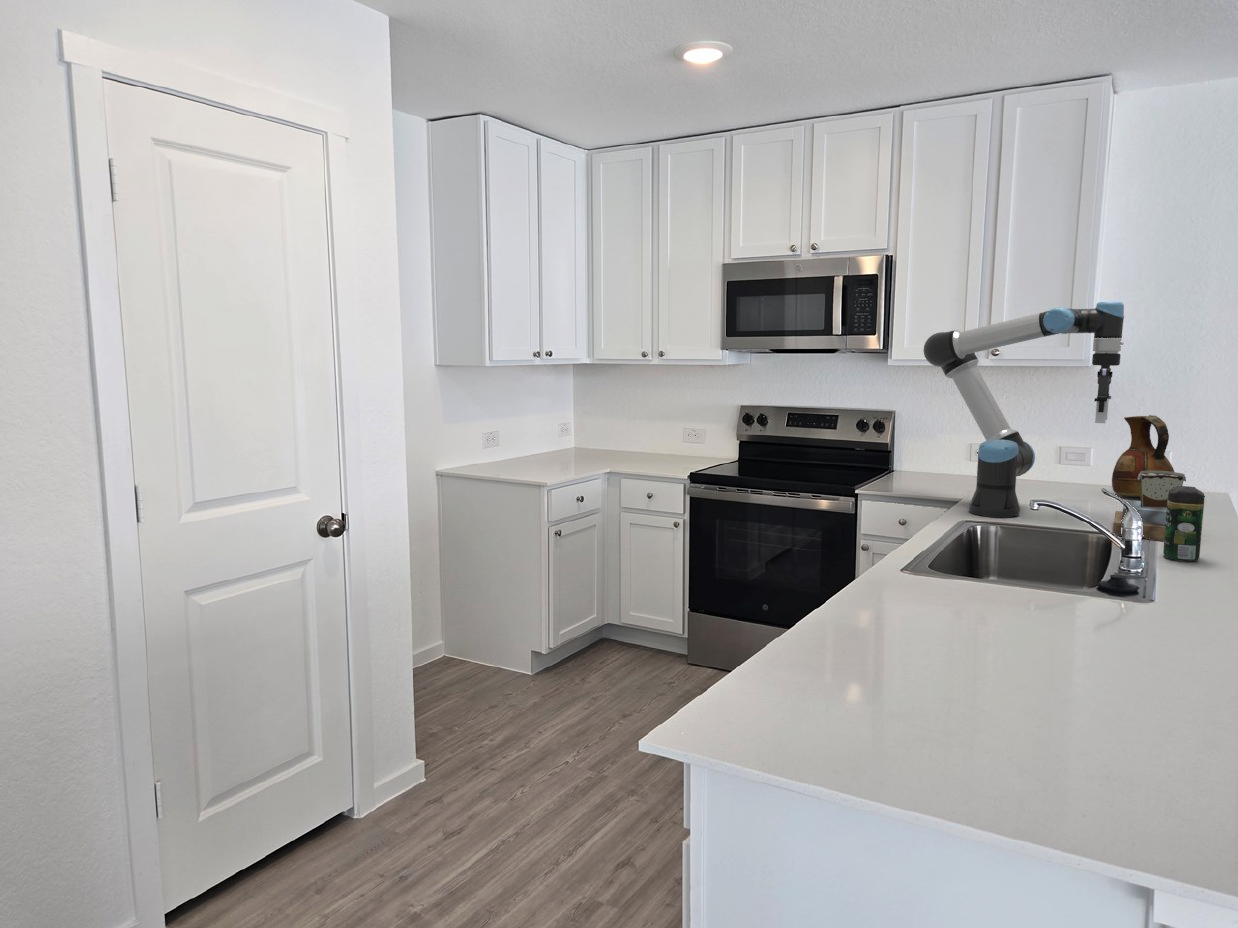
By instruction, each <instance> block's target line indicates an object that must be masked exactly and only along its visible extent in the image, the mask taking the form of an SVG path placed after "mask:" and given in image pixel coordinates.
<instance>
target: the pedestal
mask: <svg viewBox="0 0 1238 928" xmlns="http://www.w3.org/2000/svg"><path fill="white" fill-rule="evenodd" d="M1124 501H1125V502H1128V503H1129V504H1130V505H1131V506H1132V507H1134V508H1135V509H1136V510H1137V512H1138V513H1139V514H1140V516H1141V518H1142V522H1143V535H1144V538H1150V539H1155V540H1154V541H1157V540H1158V541H1159V542H1164V536H1165V521H1166V510H1167V508H1145V507H1141V500H1132V499H1124V500H1123V502H1124ZM1125 513H1126V507H1125V506H1124V504H1123V507H1122V510H1116V511H1115V513H1114V518H1113V523H1112V524H1113V526H1112V534H1113V533H1115V534H1118V535H1121V520H1122V519H1123V517H1124V515H1125Z"/></svg>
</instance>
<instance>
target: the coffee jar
mask: <svg viewBox="0 0 1238 928" xmlns="http://www.w3.org/2000/svg"><path fill="white" fill-rule="evenodd" d="M1205 498H1206V496H1205V493H1204V492H1203V491H1201V490H1200V489H1197V488H1196V487H1195V486H1189V485H1188V486H1187V485H1185V486H1184V485H1183V486H1177V487H1175V488H1172V489H1170V490H1169V494H1168V501H1167V510H1166V521H1165V536H1164V541H1163V551H1162V552H1163V556H1164V557H1165V558H1166V559H1170V560H1175V561H1177V562H1185V563H1186V562H1198V561H1199V560H1200V554H1201V545H1202V544H1201V542H1202V533H1203V532H1202V531H1203V519H1204V509H1205V508H1204V507H1205Z"/></svg>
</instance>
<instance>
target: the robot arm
mask: <svg viewBox="0 0 1238 928" xmlns="http://www.w3.org/2000/svg"><path fill="white" fill-rule="evenodd" d="M1124 313H1125V304H1124V303H1123V302H1122V301H1099V302H1097V303H1096V305H1095V307H1094V308H1069V307H1068V308H1067V307H1062V306H1059V307H1053V308H1051V309H1049V310H1046V311H1043V312H1038V313H1034V314H1030V315H1026V316H1021V317H1018V318H1013V319H1009V320H1004V321H1001V322H997V323H993V324H989V325H985V326H984V325H983V326H980V327H976V328H972V329H967V330H964V331H960V330H959V329H954V330H950V331H945V332H944V331H941V332H936V333H933V334H931V336H929V337H928V338H927V339H926V341H925V342H924V345H923V349H922V350H923V354H924V358H925V360H926V361H927V363H929V364H930V365H932V366H934V367H938V368H939V367H940V369H941V370H942V373H943V374H944V376H945V377H946V378H949V379H952V381H953V382H954V384H955V386H956V388H957V390H958V391H959V393H960V395H961V397H962V398H963V400H964V402H965V404H966V406H967V408H968V410H969V412H970V413H971V415H972V417H973V420H975V423H976V424H977V427H978V429H979V430H980V432H981V434H982V436H983V437H984V440H985V441H982V442H981V443H980V444H979V445H978V451H977V467H976V468H977V470H976V485H975V486H976V488H975V491H974V493H973V495H972V498H971V501H970V503H969V507H968V511H969V513H971V514H974V515H977V516H983V517H991V518H993V517H994V518H1014V517H1013V516H1016V517H1019V516H1020V515H1021V507H1020V504H1019V500H1018V496H1017V491H1016V486H1017V477H1021V476H1022V475H1024V474H1026V473H1027V472H1029V471H1030V470H1031V469H1032V467H1033V466H1034V464H1035V460H1036V453H1035V451H1034V449H1033V447H1032V445H1030V444H1029V443H1028V442H1026V441H1024V439H1023V438H1022V436H1021V434H1020V432H1019V431H1018V430H1016V429H1013V428H1011V426H1010V425H1009V422H1008V421H1007V419H1006V417H1005V415H1004V413H1003V411H1002V410H1001V408H1000V405H998V403H997V400H996V399H995V397H994V395H993V394H992V392H991V390H990V388H989V386H988V385H987V383H986V381H985V379H984V377H983V375H982V374H981V372H980V370H979V368H978V365H979V361H980V360H979V359H978V357H977V355H976V353H978V352H984V351H987V350H992V349H997V348H1001V347H1005V346H1010V345H1014V344H1017V343H1022V342H1027V341H1031V340H1037V339H1040V338H1045V337H1051V336H1056V335H1059V334H1062V335H1063V334H1064V335H1065V334H1066V335H1067V334H1093V335H1094V336H1093V343H1092V351H1093V352H1094V353H1092V359H1091V365H1092V366H1100V369H1099V370H1098V371H1097V376H1096V377H1097V384H1098V385H1097V387H1098V388H1097V396H1096V398H1094V402H1096V406H1095V420H1094V423H1095V424H1106V421H1108V411H1109V400H1111V399H1112V396H1111V395H1110V384H1112V378H1113V371H1111V370H1112V369H1111V367H1112V366H1113V367H1114V366H1115V367H1116V366H1119V365H1120V364H1121V353H1119V352H1121V351H1122V346H1123V345H1124V344H1125V343H1124V341H1122V338H1123V327H1124V319H1125V314H1124ZM1019 514H1020V515H1019ZM1018 515H1019V516H1018Z"/></svg>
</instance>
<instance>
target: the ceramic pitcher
mask: <svg viewBox="0 0 1238 928" xmlns="http://www.w3.org/2000/svg"><path fill="white" fill-rule="evenodd" d="M1123 420H1124V421H1126V423H1127V425H1128V427H1129V429H1130V436H1131V440H1130V446H1129V447H1128V448H1127V449H1126V450H1125V451H1123V453H1122V454H1120V456H1119V457H1118V459H1117V461H1116V462H1115V465H1114V468H1113V472H1112V476H1111V488H1112V490H1113V492H1114V493H1116V494H1118V495H1122V496H1126V497H1133V498H1141V497H1140V480H1138V479H1137V478H1138V475H1139V474H1140V472H1141V471H1168V472H1175V470H1174V467H1173V466H1172V464H1171V461H1170V460H1169V459H1168V457H1167V456H1166V455H1165V453H1166V450H1167V447H1168V445H1169V441H1170V440H1169V438H1170V435H1169V430H1168V427H1167V424H1166V423H1165V421H1163V419H1161V418H1160V417H1158V416H1157V415H1152V414H1149V415H1148V416H1147V415H1139V416H1138V415H1137V416H1136V415H1135V416H1127V417H1125V416H1124V418H1123ZM1152 426H1153V427H1154V428H1155V431H1156V435H1157V445H1156V447H1154V445H1153V442H1152V439H1151V427H1152Z"/></svg>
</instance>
